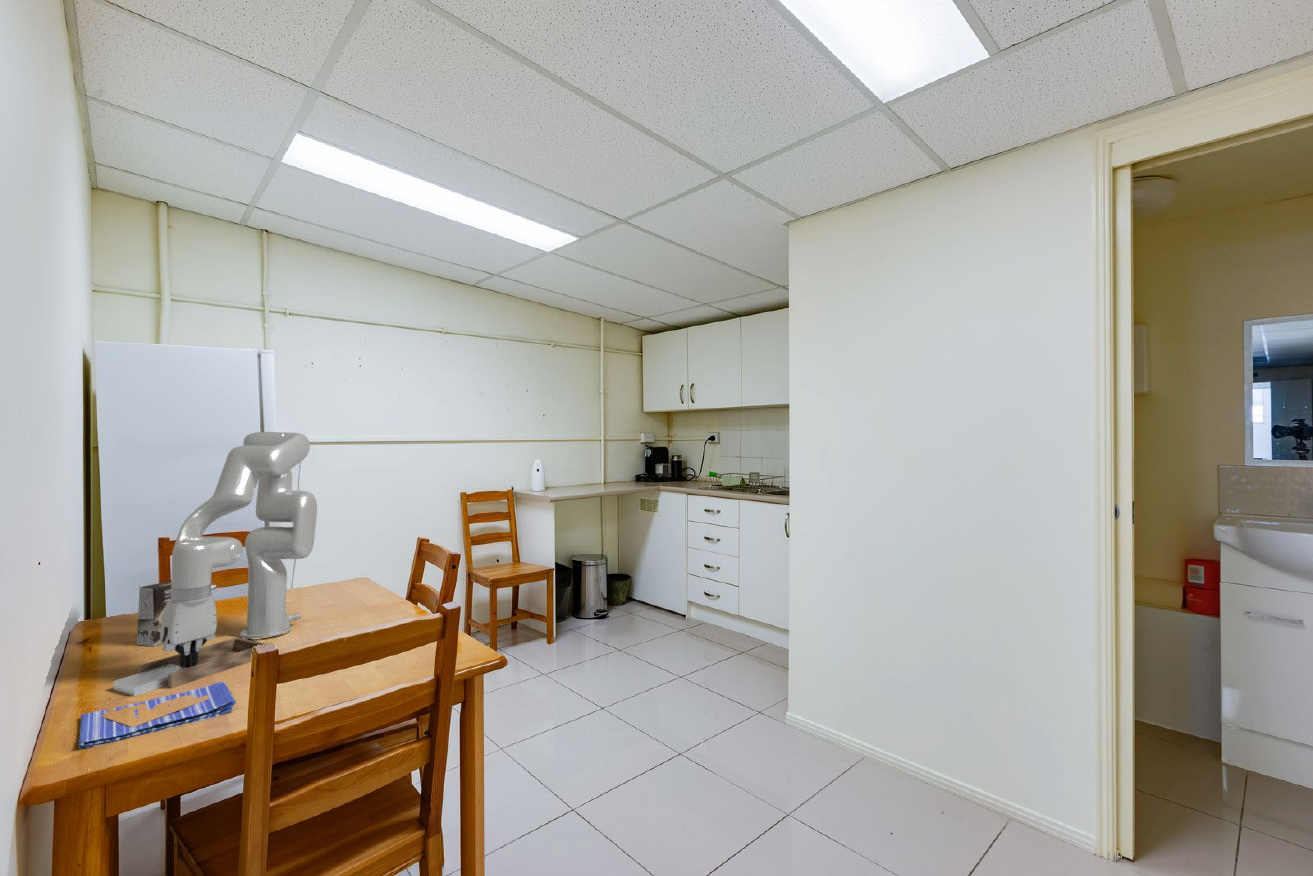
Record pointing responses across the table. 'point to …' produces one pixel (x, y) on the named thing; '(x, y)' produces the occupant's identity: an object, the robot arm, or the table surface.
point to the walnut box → (207, 661)
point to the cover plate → (146, 680)
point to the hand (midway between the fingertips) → (188, 669)
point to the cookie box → (152, 612)
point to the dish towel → (106, 730)
